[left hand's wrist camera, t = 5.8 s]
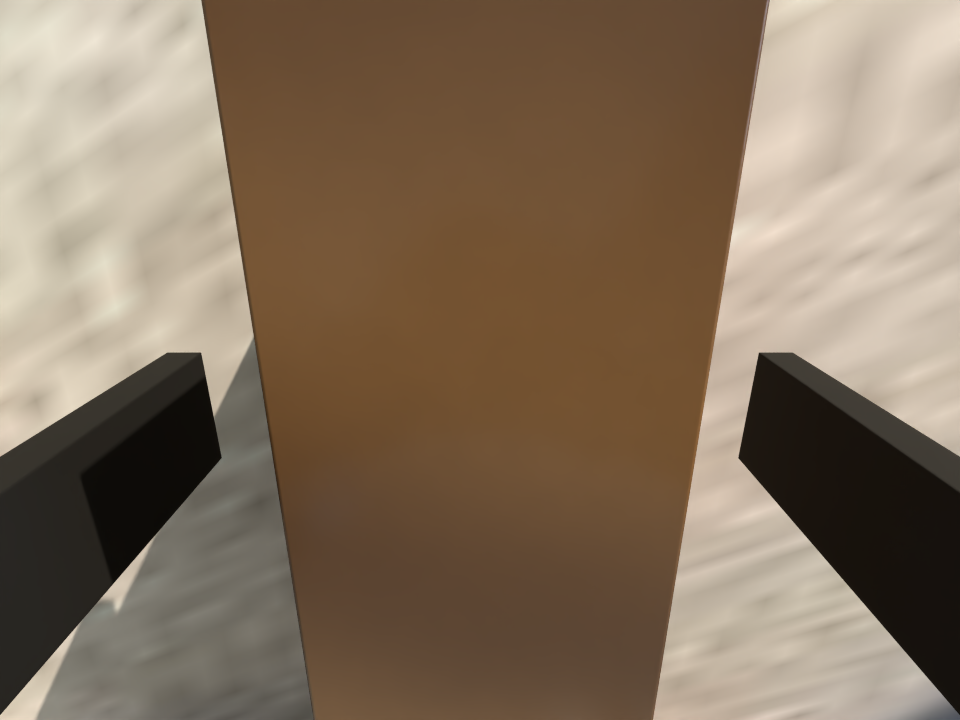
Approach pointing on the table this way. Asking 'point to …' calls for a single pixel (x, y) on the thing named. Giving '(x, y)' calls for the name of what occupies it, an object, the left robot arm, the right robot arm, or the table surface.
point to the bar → (484, 329)
